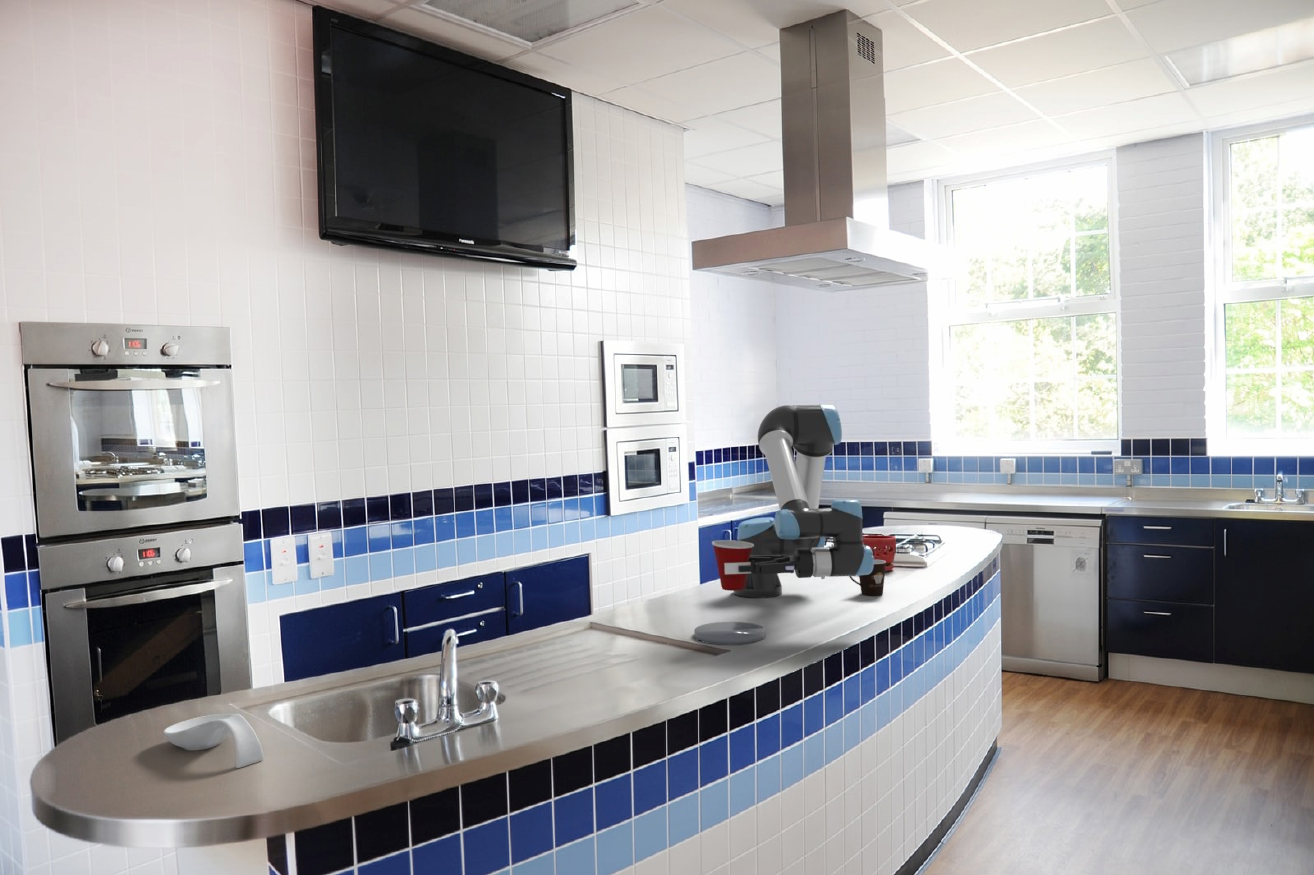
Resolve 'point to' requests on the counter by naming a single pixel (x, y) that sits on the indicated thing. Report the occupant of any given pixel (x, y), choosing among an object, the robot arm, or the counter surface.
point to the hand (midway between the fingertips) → (722, 565)
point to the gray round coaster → (729, 633)
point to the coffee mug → (873, 580)
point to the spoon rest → (218, 736)
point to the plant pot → (882, 548)
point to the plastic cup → (731, 561)
